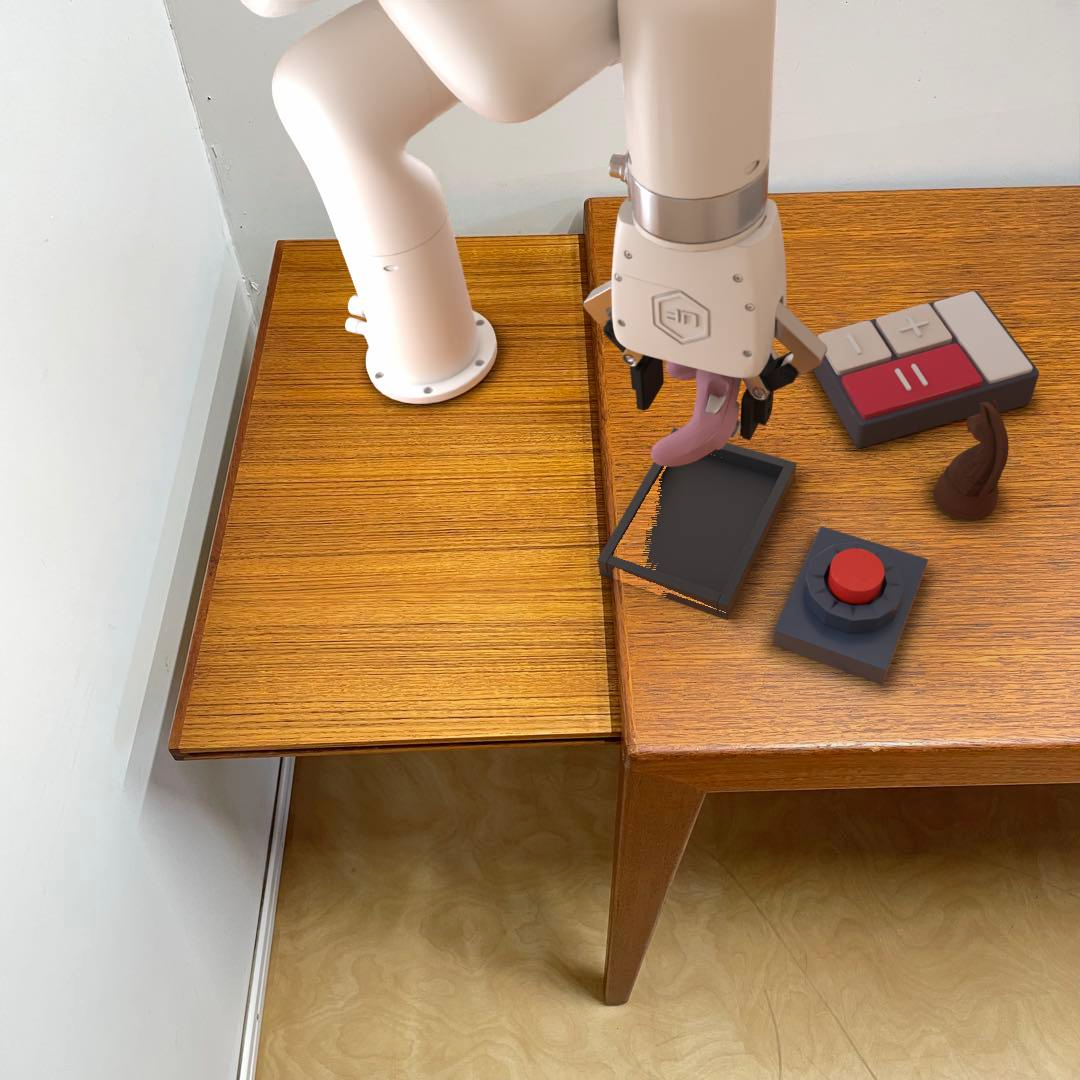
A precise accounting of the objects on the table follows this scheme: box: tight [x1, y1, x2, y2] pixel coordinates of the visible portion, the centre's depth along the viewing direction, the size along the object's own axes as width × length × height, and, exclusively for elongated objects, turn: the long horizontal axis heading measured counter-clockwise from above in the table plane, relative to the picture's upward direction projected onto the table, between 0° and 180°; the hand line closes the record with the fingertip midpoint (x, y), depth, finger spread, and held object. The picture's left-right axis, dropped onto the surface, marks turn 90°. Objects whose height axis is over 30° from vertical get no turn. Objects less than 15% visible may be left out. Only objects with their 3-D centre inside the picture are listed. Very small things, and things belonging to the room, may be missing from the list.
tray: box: [597, 427, 797, 621], centre depth 78 cm, size 11×15×2 cm
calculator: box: [812, 290, 1040, 449], centre depth 83 cm, size 11×4×15 cm
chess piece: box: [932, 400, 1010, 522], centre depth 73 cm, size 5×5×10 cm
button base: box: [772, 525, 929, 686], centre depth 71 cm, size 8×10×4 cm
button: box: [828, 549, 885, 605], centre depth 69 cm, size 4×4×2 cm
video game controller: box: [650, 361, 742, 467], centre depth 68 cm, size 10×5×7 cm, turn 169°
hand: (700, 409), depth 69 cm, fingers closed on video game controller, 7 cm apart
